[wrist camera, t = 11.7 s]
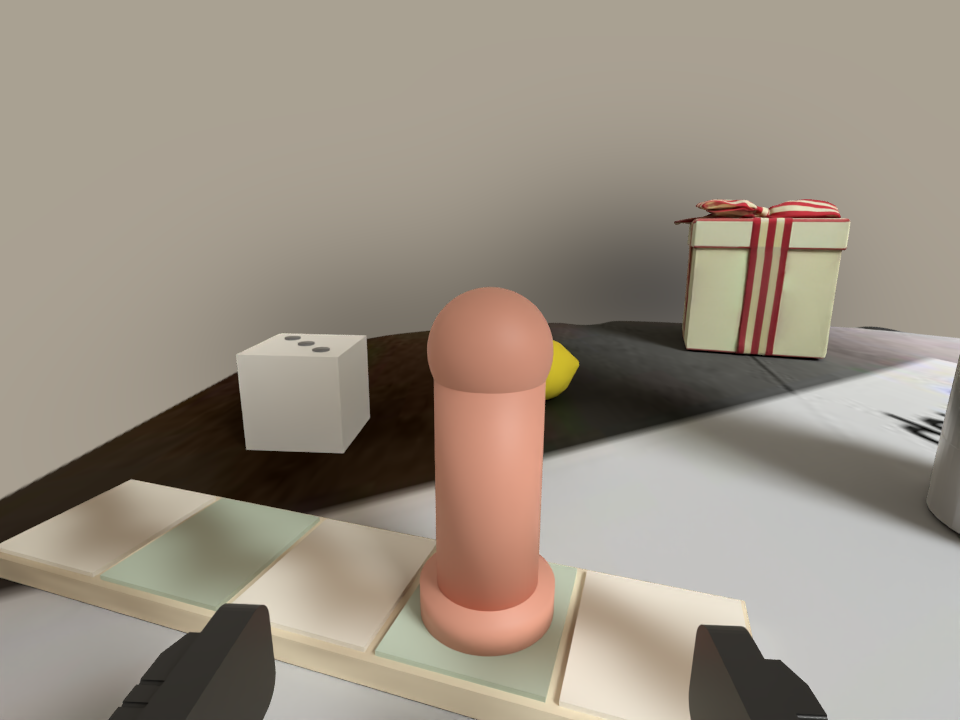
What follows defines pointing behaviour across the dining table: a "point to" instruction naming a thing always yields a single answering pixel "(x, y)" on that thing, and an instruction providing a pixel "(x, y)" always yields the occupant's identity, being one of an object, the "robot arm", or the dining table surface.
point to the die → (304, 392)
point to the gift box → (763, 277)
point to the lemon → (560, 371)
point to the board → (368, 605)
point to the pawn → (488, 475)
